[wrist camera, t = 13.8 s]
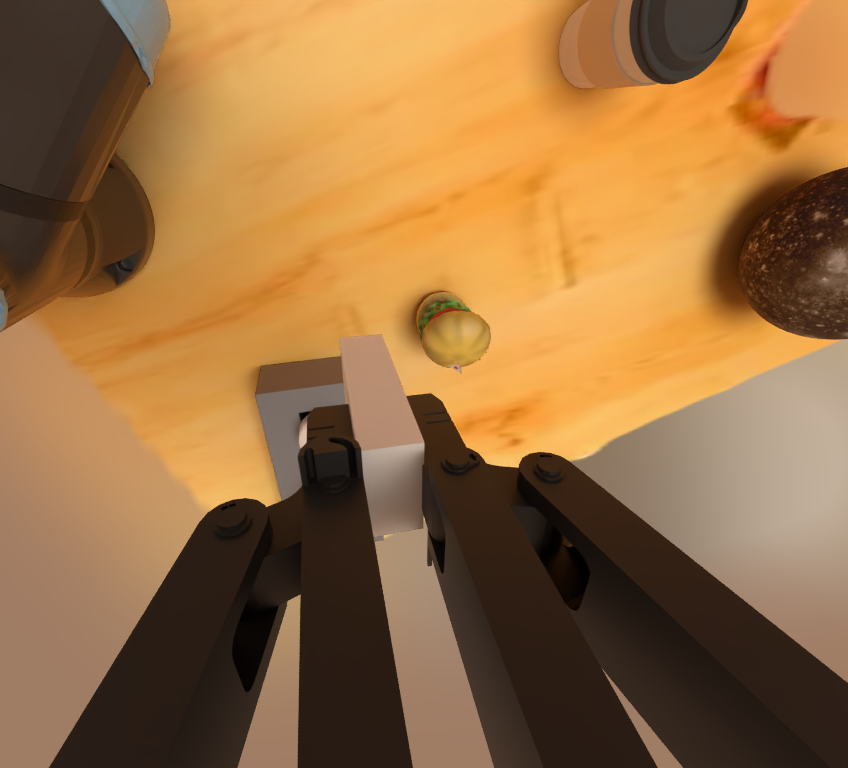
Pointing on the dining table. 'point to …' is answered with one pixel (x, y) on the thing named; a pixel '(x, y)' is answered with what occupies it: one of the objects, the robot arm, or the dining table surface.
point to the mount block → (295, 410)
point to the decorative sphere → (802, 260)
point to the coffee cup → (644, 40)
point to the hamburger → (451, 331)
